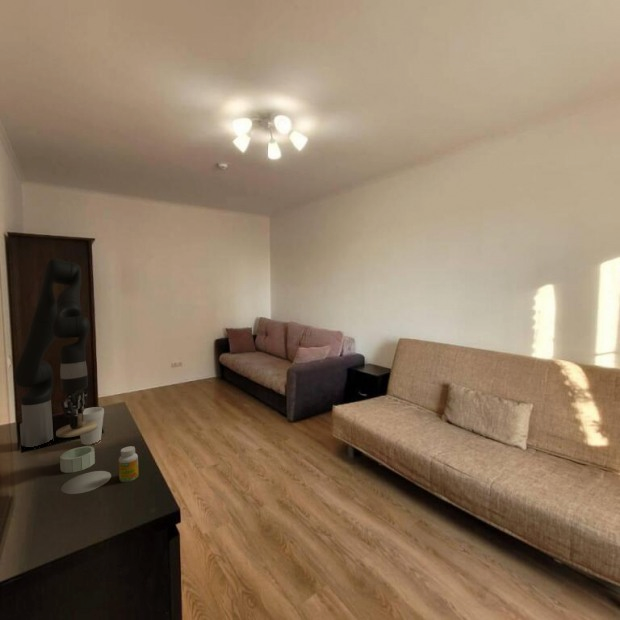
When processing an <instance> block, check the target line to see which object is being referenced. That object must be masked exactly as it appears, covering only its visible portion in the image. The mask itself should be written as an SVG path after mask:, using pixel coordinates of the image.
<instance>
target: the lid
mask: <svg viewBox="0 0 620 620" xmlns="http://www.w3.org/2000/svg"><path fill="white" fill-rule="evenodd" d="M77 416H78V426H77V427H75V428H71V427H70V424H66V425H64V426H62V427H59V428H58V429H57V430H56V431H55V435H56V437H58V438H72V437H78V436H79V437H80V435H83V434H86V433H89V432H91V431H93V430H95V429H96V428H97V423H96V422H93V421H86V422H83V421H82V413H78V415H77Z"/></svg>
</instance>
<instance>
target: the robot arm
mask: <svg viewBox="0 0 620 620" xmlns="http://www.w3.org/2000/svg"><path fill="white" fill-rule="evenodd" d="M54 284H58V285H63V286H67V287H66V288H65V289H64V290H63V291H61V292H60V293H59V294H58V296H57V298H56V297H55V293H54ZM81 286H82V268H81V266H80V265H79V264H77V263H75V262H72V261H71V262H70V261H67V260H62V259H58V258H52V257H51V258H50V259H49V260H48V261H47V263H46V266H45V269H44V273H43V278H42V283H41V289H40V293H39V296H38V300H37V304H36V308H35V310H34V313H33V317H32V319H31V324H30V326H29V327H30V328H29V332H28V335H27V338H26V341H25V345H24V348H23V351H22V354H21V356H20V359H19V361H18V363H17V365H16V368H15V371H14V375H13V376H14V377H13V378H14V382H15V384H16V385H17V386H18V387H19V388H24V389H27V388H29V389H28V390H27V392H26V393H24V394H23V395H22V397H21V398H20V399H21V400H20V402H21V403H20V404H21V419H22V422H21V423H20V424H19V433H20V446H21V445H22V446H25V447H34V446H38V445H41V444H44V443H47V442H49V441H50V440H52V439H53V440H54V432H53V431H54V430H53V429H54V428H53V414H52V412H53V411H52V394H53V392H54V372H53V371H54V370H53V368H52V365H51V364H50V363H49V362H48V361H46V360H43V357H44V354H45V353H46V351H47V350H48V349H49V347H50V346H51V345H52V343H53V342H54V341H55V340H56V339H57V338H58V339H68V338H69V339H70V338H77V340H76V341H75V342H73V343H69V344H66V345H63V346H61V347H60V349H59V358H60V367H59V368H60V370H59V372H60V374H59V375H60V388H61V389H60V390H61V391H62V392H66V394H65V401H62V402H61V404H60V405H61V407H62V411H63V414H64V417H65V418H69V425H70V427H71V428H75V427H77V426H78V416H77V415H78V413H82V421H83V412H84V409H86V408H87V405H88V395H89V392H88V391H84V389H87V388H88V386H89V378H88V377H89V376H88V367H87V360H86V359H87V357H86V345H87V339H88V336H89V332H90V328H91V322H90V320H89V319H88V317H86V316H82V304H81V298H80V297H81Z"/></svg>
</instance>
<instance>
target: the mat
mask: <svg viewBox="0 0 620 620" xmlns="http://www.w3.org/2000/svg"><path fill="white" fill-rule="evenodd" d="M111 478H112V474H111V472H109V471H105V470H97V471H96V470H95V471H89V472H86V473H82V474H78V475H77V476H75V477H72V478H70V479H69V480H67V481H66V482H65V483H63V485H62V486H61V488H60V490H61V492H62V493H63V494H67V495H68V494H69V495H76V494H82V493H87V492H90V491H93V490H95V489H97V488H99V487H102V486H103V485H105V484H107V483H108V482H109V481H110V479H111Z"/></svg>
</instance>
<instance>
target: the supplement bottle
mask: <svg viewBox="0 0 620 620" xmlns="http://www.w3.org/2000/svg"><path fill="white" fill-rule="evenodd" d="M118 474H119V475H118V477H119V478H118V479H119V481H120V482H121V483H123V482H132V481H134V480H136V479H137V478H139V475H140V474H139V457H138V454H137V453H136V448H135V446H134V445H133V446H131V445H130V446H126V447H123V448H121V449H120V456H119V458H118Z"/></svg>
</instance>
